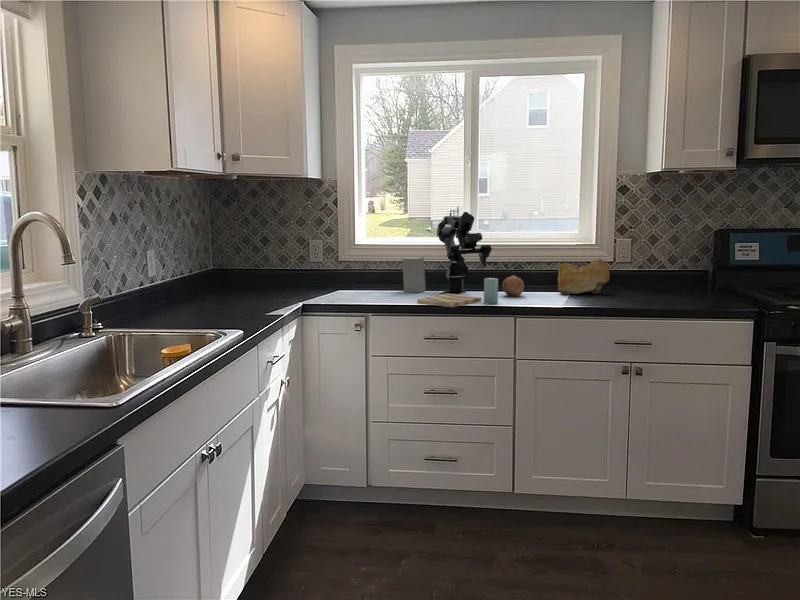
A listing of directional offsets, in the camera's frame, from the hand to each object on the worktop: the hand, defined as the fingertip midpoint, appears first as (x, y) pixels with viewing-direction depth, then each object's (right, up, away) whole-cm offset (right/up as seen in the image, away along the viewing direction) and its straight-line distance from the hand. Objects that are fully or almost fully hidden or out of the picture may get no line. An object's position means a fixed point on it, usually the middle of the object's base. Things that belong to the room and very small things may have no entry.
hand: (474, 267), depth 279 cm
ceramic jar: (+6, -15, -6) cm, 17 cm away
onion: (+18, -12, +12) cm, 25 cm away
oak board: (-11, -15, -3) cm, 18 cm away
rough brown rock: (+49, -11, +20) cm, 54 cm away
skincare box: (-25, -10, +27) cm, 38 cm away
